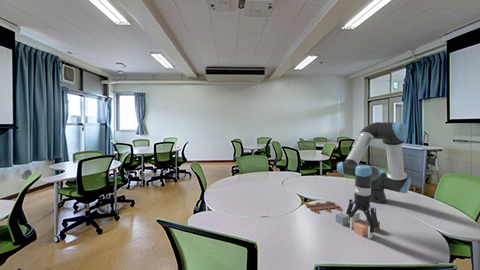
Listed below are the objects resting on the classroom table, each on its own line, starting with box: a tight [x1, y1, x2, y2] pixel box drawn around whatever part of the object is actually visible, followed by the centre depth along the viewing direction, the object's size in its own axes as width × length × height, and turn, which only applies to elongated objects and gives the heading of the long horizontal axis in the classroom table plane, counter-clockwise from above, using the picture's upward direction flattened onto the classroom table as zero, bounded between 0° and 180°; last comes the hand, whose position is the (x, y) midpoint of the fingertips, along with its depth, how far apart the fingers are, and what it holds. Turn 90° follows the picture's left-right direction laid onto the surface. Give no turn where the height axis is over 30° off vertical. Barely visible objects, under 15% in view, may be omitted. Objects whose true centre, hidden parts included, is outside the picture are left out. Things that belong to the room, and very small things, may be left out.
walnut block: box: [364, 218, 381, 233], centre depth 113 cm, size 5×5×5 cm
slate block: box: [335, 212, 350, 227], centre depth 120 cm, size 5×5×5 cm
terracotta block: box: [353, 221, 368, 238], centre depth 109 cm, size 5×5×5 cm
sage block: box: [346, 211, 361, 223], centre depth 124 cm, size 5×5×5 cm
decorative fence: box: [304, 201, 343, 215], centre depth 141 cm, size 23×2×15 cm
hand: (360, 232), depth 109 cm, fingers open, 10 cm apart
